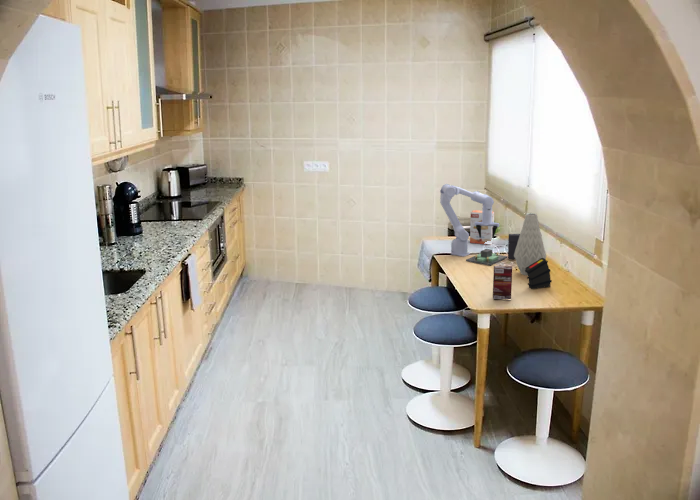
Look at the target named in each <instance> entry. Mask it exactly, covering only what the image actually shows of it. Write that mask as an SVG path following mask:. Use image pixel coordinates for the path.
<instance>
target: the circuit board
mask: <svg viewBox="0 0 700 500" xmlns="http://www.w3.org/2000/svg"><path fill="white" fill-rule="evenodd" d="M480 253H481V254H480ZM480 253H478V254H476V255H477V261H482V262H483V261H485V260H487V257H489V261H494V260H496V259H498V256H496V254H497V253H495V252H494V253H493V249H490V248H485V249H482V250H481V251H480Z"/></svg>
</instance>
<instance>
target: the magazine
mask: <svg viewBox="0 0 700 500" xmlns="http://www.w3.org/2000/svg"><path fill="white" fill-rule="evenodd" d="M548 262H549V261H548V260H547V258H546V259H545V258H541V259H539V260H538V261H536V262H534V263H533V264H531V265H530V266H528V267H526V268H525V272H527V274H528V276H527V277H526V279H528V283H527V285H528V289H531V290H536V289H544V288H551V283H552V280H551V269H550V267H549V264H548Z"/></svg>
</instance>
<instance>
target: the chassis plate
mask: <svg viewBox="0 0 700 500" xmlns="http://www.w3.org/2000/svg"><path fill="white" fill-rule="evenodd" d="M479 254H481V252H480V253H479ZM495 254H496V256H498V259H496V260H494V261H489V257H487V260H485V261H483V262H482V261H477V255H478V254H475V255H473V256H471V257H469V258H466V259H465V262H469V263H473V264H478V265H483V266H489V267H491V266H494V265H495V264H497V263H500V262H502V261H504V260H506V259H508V255H502V254H499V252H496V253H495Z"/></svg>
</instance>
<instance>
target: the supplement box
mask: <svg viewBox="0 0 700 500" xmlns="http://www.w3.org/2000/svg"><path fill="white" fill-rule="evenodd" d="M492 279H493V280H492V300H493V299H511V300H512V285H513V266H507V265H506V266H505V265H502V266H501V265H493V277H492Z"/></svg>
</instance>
